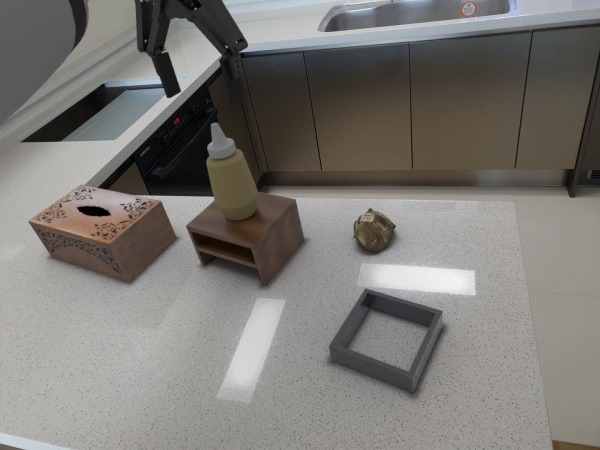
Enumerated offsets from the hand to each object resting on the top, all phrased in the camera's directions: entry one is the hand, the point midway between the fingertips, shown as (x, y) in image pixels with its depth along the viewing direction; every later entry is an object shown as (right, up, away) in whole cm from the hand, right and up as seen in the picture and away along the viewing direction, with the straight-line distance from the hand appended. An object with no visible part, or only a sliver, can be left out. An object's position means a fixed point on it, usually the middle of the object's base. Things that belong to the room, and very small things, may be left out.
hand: (204, 97), depth 72 cm
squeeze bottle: (+4, -18, +14) cm, 23 cm away
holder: (+28, -38, -3) cm, 47 cm away
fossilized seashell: (+29, -23, +17) cm, 41 cm away
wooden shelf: (+6, -26, +20) cm, 33 cm away
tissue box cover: (-26, -25, +30) cm, 47 cm away
